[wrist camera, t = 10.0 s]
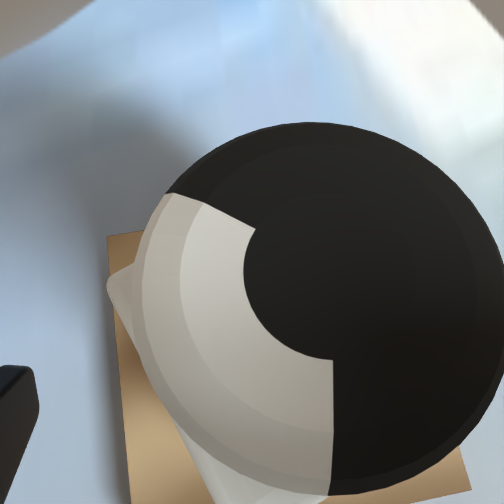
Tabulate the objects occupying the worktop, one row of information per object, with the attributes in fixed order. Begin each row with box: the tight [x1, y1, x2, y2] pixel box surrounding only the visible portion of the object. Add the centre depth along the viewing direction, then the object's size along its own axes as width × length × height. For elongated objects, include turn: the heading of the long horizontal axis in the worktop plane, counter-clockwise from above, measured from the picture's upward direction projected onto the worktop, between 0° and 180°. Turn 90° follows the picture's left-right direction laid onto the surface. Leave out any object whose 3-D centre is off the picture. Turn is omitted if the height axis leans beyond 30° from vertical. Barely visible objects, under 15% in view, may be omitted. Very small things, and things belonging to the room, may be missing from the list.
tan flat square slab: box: [107, 230, 472, 504], centre depth 19 cm, size 12×12×2 cm
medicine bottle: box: [106, 122, 504, 504], centre depth 12 cm, size 7×7×12 cm
